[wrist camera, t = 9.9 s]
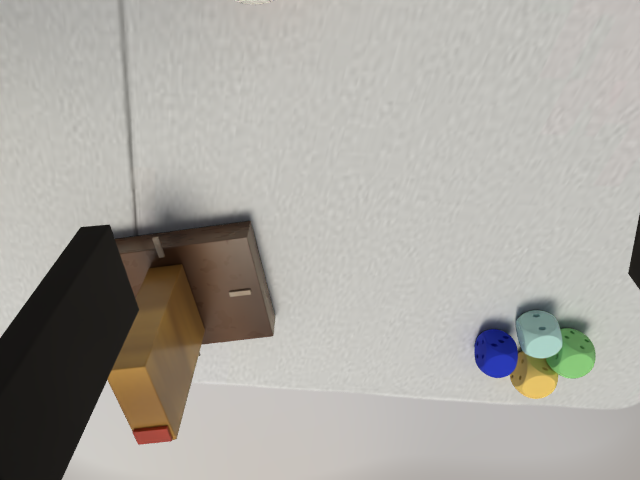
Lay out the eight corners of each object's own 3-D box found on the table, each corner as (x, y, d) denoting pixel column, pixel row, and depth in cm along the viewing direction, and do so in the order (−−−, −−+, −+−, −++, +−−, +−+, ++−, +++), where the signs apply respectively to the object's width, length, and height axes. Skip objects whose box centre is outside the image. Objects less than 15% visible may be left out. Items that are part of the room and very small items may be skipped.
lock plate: (129, 343, 43) (121, 364, 42) (80, 231, 38) (68, 249, 37) (277, 326, 42) (275, 347, 41) (247, 208, 37) (243, 226, 36)
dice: (470, 318, 42) (474, 382, 45) (478, 343, 40) (481, 409, 43) (587, 302, 41) (583, 369, 44) (602, 327, 39) (596, 396, 42)
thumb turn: (148, 267, 37) (100, 374, 30) (182, 263, 37) (143, 370, 29) (173, 334, 40) (136, 447, 32) (205, 330, 40) (175, 443, 32)
